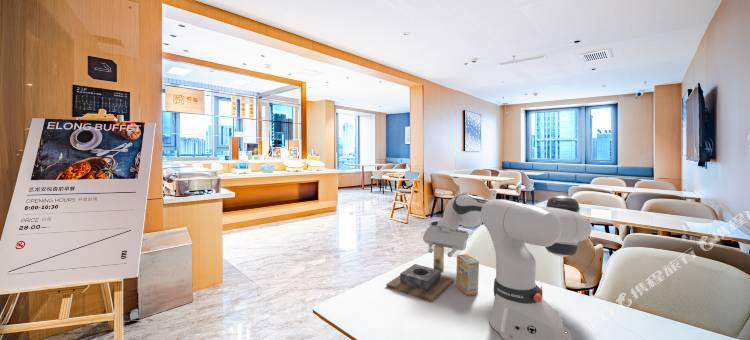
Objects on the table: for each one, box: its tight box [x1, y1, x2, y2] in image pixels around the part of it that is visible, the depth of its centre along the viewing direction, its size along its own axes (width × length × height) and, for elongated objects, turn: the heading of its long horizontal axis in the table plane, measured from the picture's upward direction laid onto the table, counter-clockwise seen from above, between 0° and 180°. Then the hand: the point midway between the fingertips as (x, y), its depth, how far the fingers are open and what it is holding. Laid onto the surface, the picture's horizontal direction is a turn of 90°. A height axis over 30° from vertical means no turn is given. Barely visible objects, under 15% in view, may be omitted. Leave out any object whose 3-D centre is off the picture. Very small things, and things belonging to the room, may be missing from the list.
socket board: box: [385, 263, 454, 303], centre depth 124 cm, size 20×20×5 cm
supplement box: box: [455, 253, 480, 296], centre depth 118 cm, size 8×5×13 cm, turn 17°
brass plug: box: [433, 245, 445, 273], centre depth 137 cm, size 4×4×11 cm
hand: (439, 254), depth 138 cm, fingers open, 8 cm apart
